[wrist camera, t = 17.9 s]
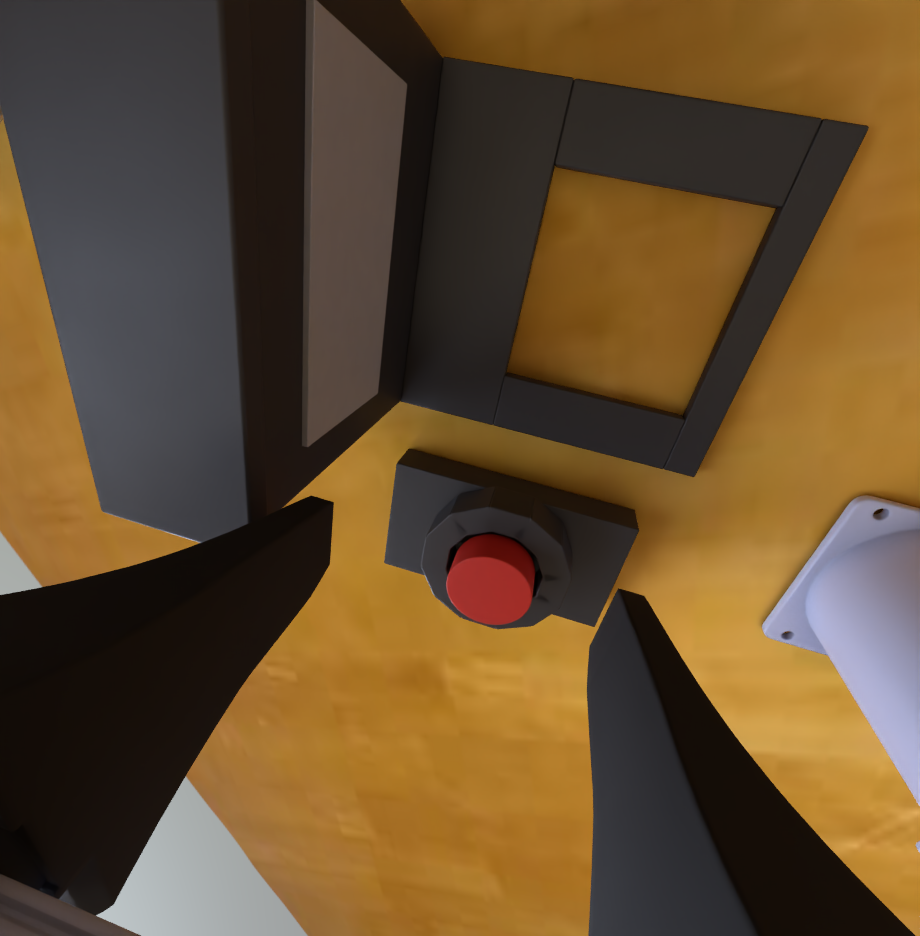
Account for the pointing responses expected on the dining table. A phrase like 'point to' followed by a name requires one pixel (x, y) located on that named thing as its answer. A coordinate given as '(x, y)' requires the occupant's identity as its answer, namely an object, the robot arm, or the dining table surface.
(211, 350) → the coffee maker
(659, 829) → the robot arm
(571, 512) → the control pad
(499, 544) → the power button
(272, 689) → the dining table surface
